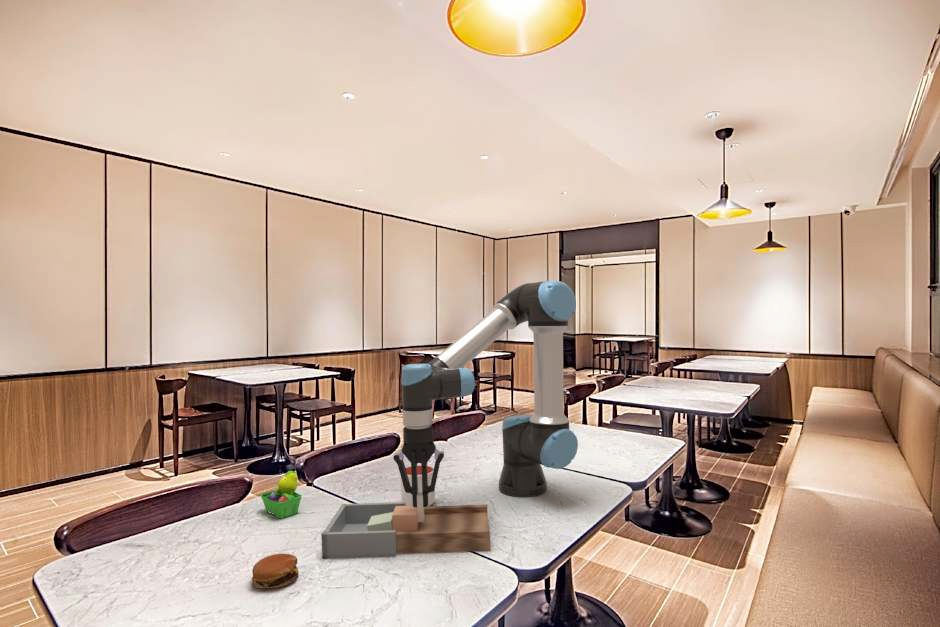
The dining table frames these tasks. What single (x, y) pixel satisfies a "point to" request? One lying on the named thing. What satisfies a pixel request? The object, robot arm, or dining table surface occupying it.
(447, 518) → the wooden tray
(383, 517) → the tile
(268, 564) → the burger
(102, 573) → the dining table surface
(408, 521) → the tile
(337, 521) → the box
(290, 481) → the fruit basket
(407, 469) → the cup
